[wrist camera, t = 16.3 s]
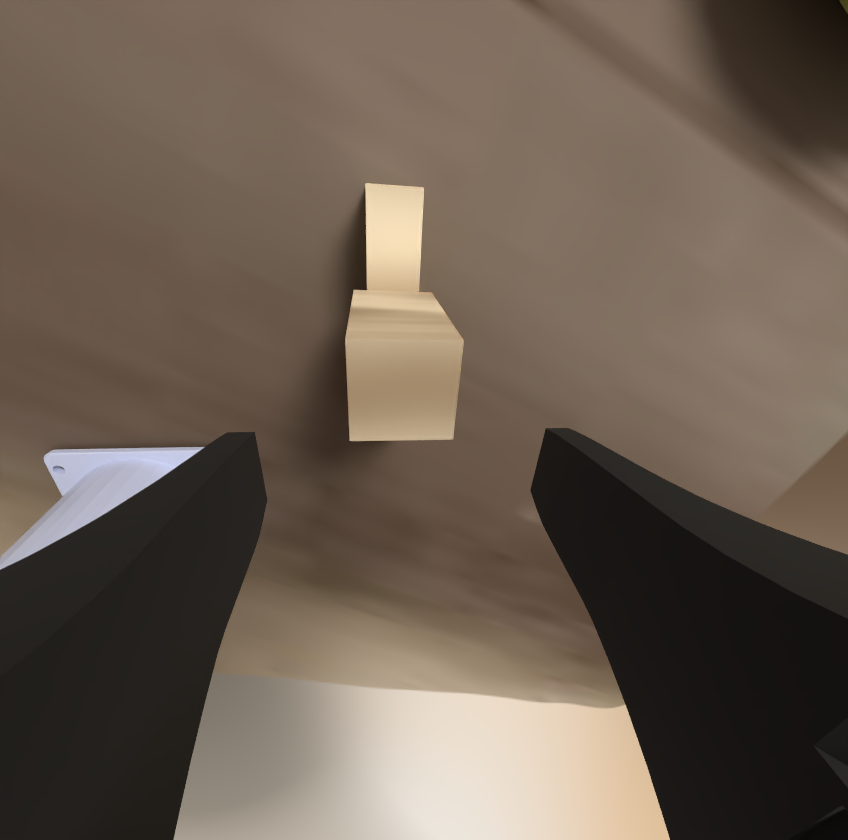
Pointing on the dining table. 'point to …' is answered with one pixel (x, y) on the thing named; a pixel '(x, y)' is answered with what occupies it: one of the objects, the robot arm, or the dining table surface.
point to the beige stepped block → (399, 332)
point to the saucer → (844, 4)
